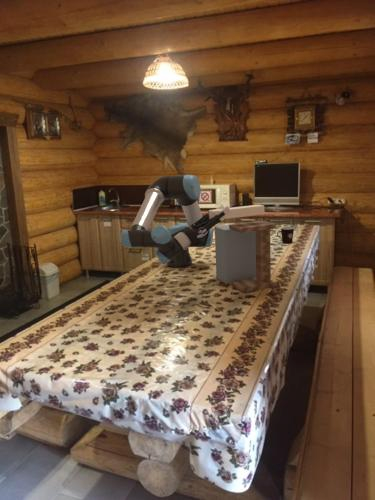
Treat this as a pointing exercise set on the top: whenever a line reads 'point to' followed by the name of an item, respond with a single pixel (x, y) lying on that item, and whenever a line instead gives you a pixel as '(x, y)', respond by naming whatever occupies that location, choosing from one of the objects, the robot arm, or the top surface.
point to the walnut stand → (257, 256)
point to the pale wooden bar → (240, 211)
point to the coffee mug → (286, 234)
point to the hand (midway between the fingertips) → (226, 207)
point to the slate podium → (234, 254)
